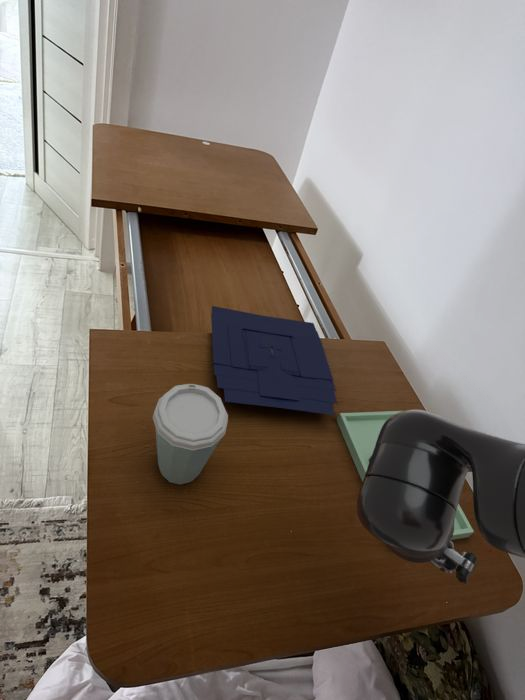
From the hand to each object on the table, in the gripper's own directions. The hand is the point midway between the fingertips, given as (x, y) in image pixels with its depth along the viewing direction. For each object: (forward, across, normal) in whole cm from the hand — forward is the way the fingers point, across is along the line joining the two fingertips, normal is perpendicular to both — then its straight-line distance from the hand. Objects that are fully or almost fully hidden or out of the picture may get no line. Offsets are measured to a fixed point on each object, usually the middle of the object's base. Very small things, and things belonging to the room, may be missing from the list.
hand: (416, 542), depth 66 cm
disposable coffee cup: (0, -35, -12) cm, 37 cm away
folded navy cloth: (+15, -42, +14) cm, 47 cm away
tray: (+21, -10, +11) cm, 26 cm away
